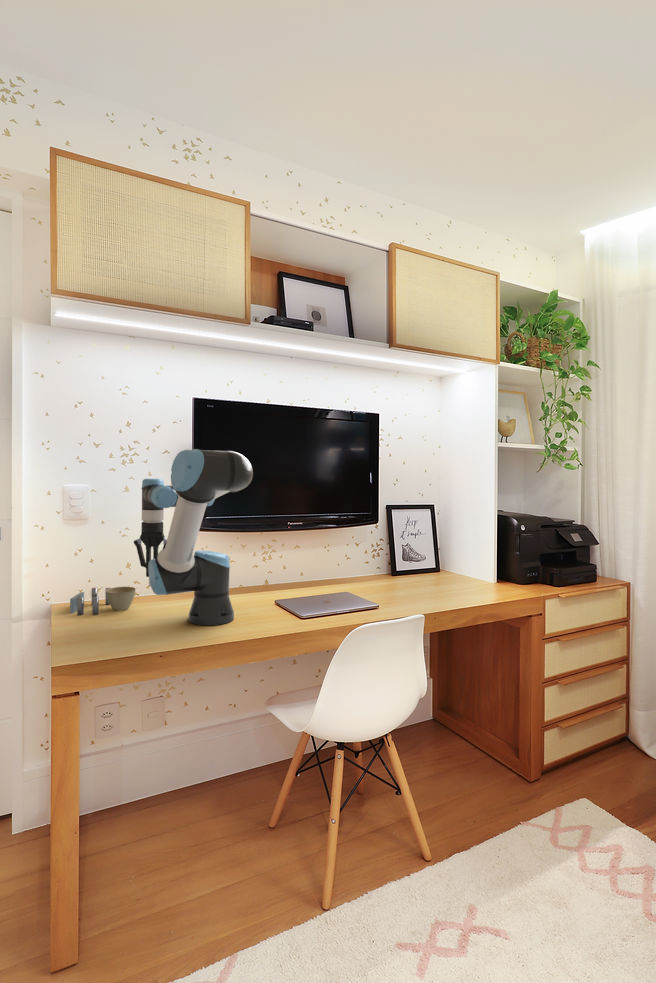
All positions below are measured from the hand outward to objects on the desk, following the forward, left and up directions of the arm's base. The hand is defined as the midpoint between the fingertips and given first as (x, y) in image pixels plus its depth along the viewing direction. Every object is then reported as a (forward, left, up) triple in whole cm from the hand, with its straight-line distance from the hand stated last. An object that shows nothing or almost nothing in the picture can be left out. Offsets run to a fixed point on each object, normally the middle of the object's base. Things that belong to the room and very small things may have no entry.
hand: (151, 585), depth 191 cm
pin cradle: (+21, 0, -8) cm, 23 cm away
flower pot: (+11, 0, -9) cm, 14 cm away
